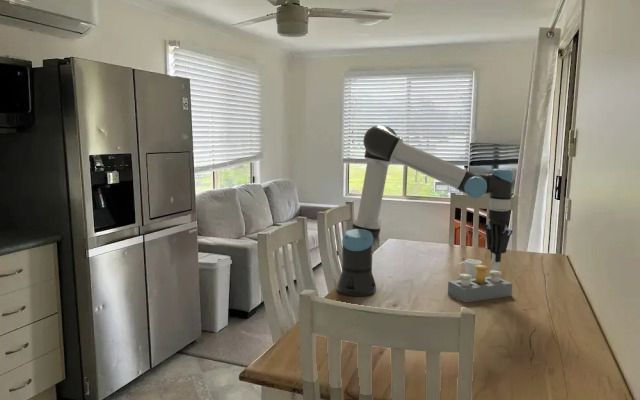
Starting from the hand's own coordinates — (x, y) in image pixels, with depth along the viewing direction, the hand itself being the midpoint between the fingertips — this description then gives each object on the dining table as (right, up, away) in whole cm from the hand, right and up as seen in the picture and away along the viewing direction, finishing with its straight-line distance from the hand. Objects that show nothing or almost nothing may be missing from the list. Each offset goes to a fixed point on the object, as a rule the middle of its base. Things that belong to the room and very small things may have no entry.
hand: (494, 269), depth 181 cm
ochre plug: (-6, -5, -2) cm, 8 cm away
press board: (-6, -10, -1) cm, 12 cm away
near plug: (-13, -8, -4) cm, 16 cm away
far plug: (0, -8, +1) cm, 8 cm away
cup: (-4, -7, +19) cm, 20 cm away
